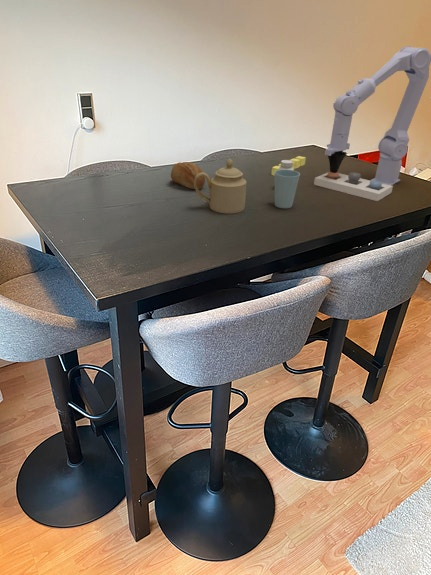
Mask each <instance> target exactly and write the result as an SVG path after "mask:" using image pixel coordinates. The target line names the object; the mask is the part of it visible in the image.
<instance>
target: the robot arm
mask: <svg viewBox="0 0 431 575" xmlns="http://www.w3.org/2000/svg"><path fill="white" fill-rule="evenodd" d="M430 65H431V53H430V50H429V49H428V48H426V47H413V46H407V45H406V46H405V47H402V48H401V49H400V50H399V51H397V52H396V53H394V55H393V56H392V57H391V58H390V59H389V60H388V61H387V62H386V63H385V64H384V65H383V66H382V67H381V68H380V69H378V70H377V71H376V72H375V73H374V74H373V75H372V76H371V77H370V78H368V77H364V78H363V79H359V80H358V81H357V83H356V85H354V86H353V87H352V88H350V89H348V90H347V91H345V94H341V95H339V96H338V97H337V98H336V100H335V101H334V103H332V105H333V106H332V107H333V109H334V119H333V125H332V130H331V131H332V132H331V136H330V137H331V138H330V142H329V143H328V144H326V148H325V149H324V151H325V152H324V156H327V158H328V162H329V171H330V172H332V173H337V171H338V172H339V169H340V166H341V165H342V162H343V160H345V157H346V156H347V155H348V153H347V152H346V151H348V150H349V149H350V146H351V143H348V142H349V137H350V136H349V135H350V130H351V126H352V119H353V114H355V113H357V111H358V108H359V106H360V105H361V104H362V103H363V102H365V101H366V100H367V99H368V98H370V96H373V94H375V92H376V88H377V87H378V86H379V85H381V83H383V82H384V81H386V80H387V79H388V78H390V77H391V76H393V75H394V74H396V73H397V72H401V71H403V72H404V73H405V75H406V76H407V78H408V80H409V81H408V84H407V86H406V89H405V91H404V94H403V97H402V100H401V102H400V105H399V106H398V110H397V112H396V115H395V118H394V119H393V123H392V126H391V128H389V129H388V130H387V131H386V132H385V134H384V136H382V138H381V139H380V141H379V143H378V152H380V153H379V158H378V159H379V160H378V164H377V167H376V172H375V177H374V178H371V179H370V181H372V180H376V181H380V182H382V183H383V184H387V185H391V186H394V185H395V184H397V183H399V182H400V181H401V179H400V178H399V177H400V174H401V168H402V165H403V163H402V159H403V158H404V157H405V156H406V155H407V153H408V148H409V147H408V146H409V141H410V137H409V134H408V130H409V128H410V126H411V123H412V121H413V118H414V115H415V112H416V110H417V108H418V106H419V103H420V100H421V98H422V96H423V93H424V90H425V88H426V85H427V83H428V82H429V81H428V80H429V77H430Z"/></svg>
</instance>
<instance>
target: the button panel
mask: <svg viewBox="0 0 431 575" xmlns="http://www.w3.org/2000/svg"><path fill="white" fill-rule="evenodd" d="M327 175H328V172H326V173H325V172H324V173H323V174H320V175H319V176H316V177H314V181H313V182H314V183H313V186H318V187H321V188H325V189H329V190H333V191H337V192H340V193H344V194H348V195H352V196H356V197H360V198H364V199H367V200H371V201H375V202H379V201H380V200H383V199H384V198H385V197H387V196H388V195H390V194H392V192H393V188H394V185H392V186H391V185H387V184H383V183H382V186H381V188H380V189H379V190H375V189H371V188H370V187H369V184H370V181H371V179H370V180H368V179H365V178H362V177H360V180H358V183H357V185H355V184H351V183H349V179H348V176H349V174H344V173H340V172H339V177H338V178H337V180H334V179H330V178H328V176H327Z"/></svg>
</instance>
